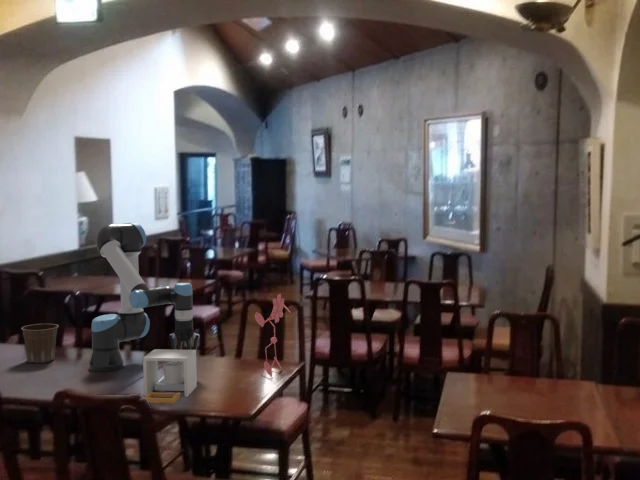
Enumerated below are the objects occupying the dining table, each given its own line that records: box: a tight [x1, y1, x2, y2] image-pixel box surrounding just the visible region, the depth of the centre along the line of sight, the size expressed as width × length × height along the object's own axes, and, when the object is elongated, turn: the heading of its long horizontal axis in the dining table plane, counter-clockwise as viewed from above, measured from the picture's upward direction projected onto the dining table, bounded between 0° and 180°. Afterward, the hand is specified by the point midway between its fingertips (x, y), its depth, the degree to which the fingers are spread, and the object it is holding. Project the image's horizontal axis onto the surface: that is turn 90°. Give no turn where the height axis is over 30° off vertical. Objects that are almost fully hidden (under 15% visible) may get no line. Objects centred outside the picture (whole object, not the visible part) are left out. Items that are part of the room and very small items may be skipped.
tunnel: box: [142, 348, 198, 398], centre depth 283 cm, size 14×17×15 cm
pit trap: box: [144, 391, 181, 405], centre depth 272 cm, size 8×12×2 cm, turn 85°
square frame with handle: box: [154, 361, 185, 392], centre depth 295 cm, size 24×13×9 cm, turn 175°
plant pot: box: [20, 323, 60, 364], centre depth 334 cm, size 16×16×16 cm
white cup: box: [162, 361, 183, 384], centre depth 288 cm, size 8×8×10 cm
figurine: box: [252, 293, 296, 379], centre depth 306 cm, size 15×26×35 cm, turn 158°
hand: (185, 373), depth 305 cm, fingers closed on square frame with handle, 2 cm apart
